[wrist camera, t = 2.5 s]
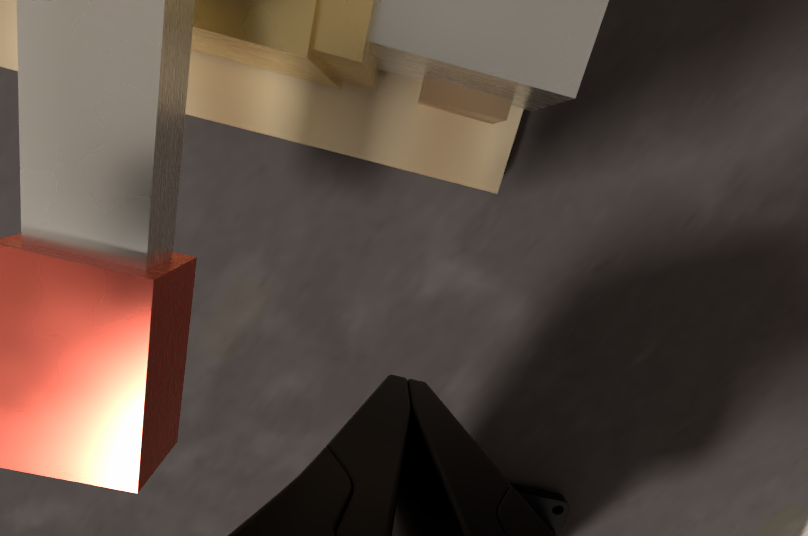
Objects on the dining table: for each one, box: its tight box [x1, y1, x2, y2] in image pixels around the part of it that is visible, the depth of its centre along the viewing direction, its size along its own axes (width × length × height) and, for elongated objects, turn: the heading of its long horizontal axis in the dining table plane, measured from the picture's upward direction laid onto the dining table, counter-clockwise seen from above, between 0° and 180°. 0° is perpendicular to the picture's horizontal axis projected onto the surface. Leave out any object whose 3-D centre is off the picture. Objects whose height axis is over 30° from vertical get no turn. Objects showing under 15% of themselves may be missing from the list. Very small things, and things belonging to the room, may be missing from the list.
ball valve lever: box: [0, 0, 197, 493], centre depth 7 cm, size 12×3×1 cm, turn 166°
